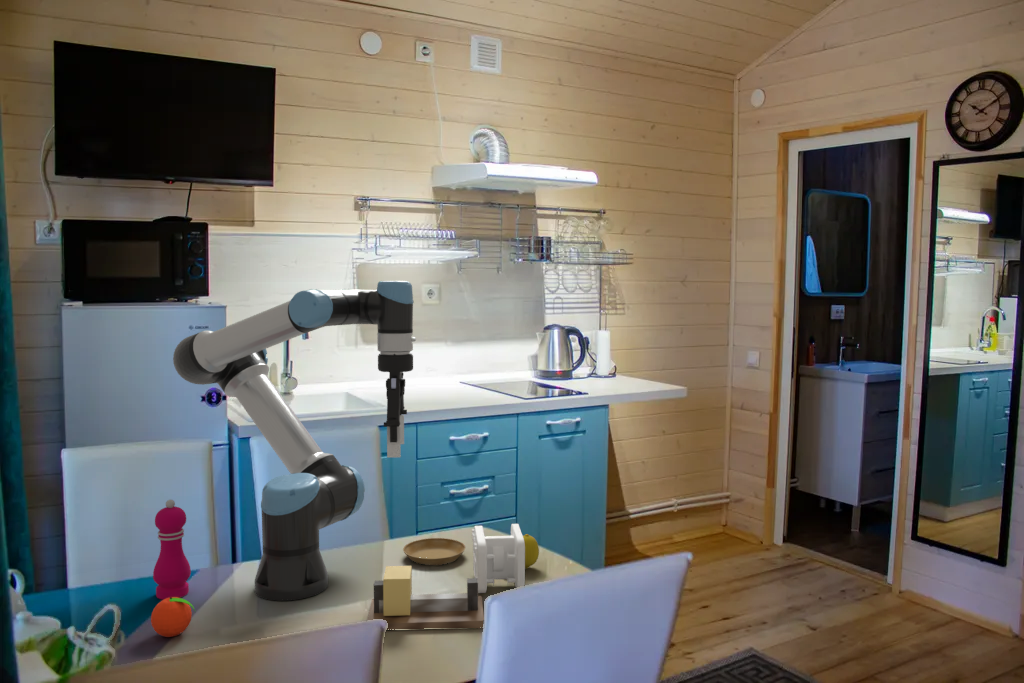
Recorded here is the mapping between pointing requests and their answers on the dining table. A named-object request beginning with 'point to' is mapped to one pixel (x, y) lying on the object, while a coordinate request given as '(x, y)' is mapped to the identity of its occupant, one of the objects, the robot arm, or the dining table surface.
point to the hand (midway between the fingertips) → (396, 450)
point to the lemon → (530, 550)
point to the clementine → (171, 616)
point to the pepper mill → (171, 553)
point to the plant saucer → (434, 551)
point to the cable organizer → (498, 557)
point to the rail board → (432, 619)
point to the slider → (397, 590)
